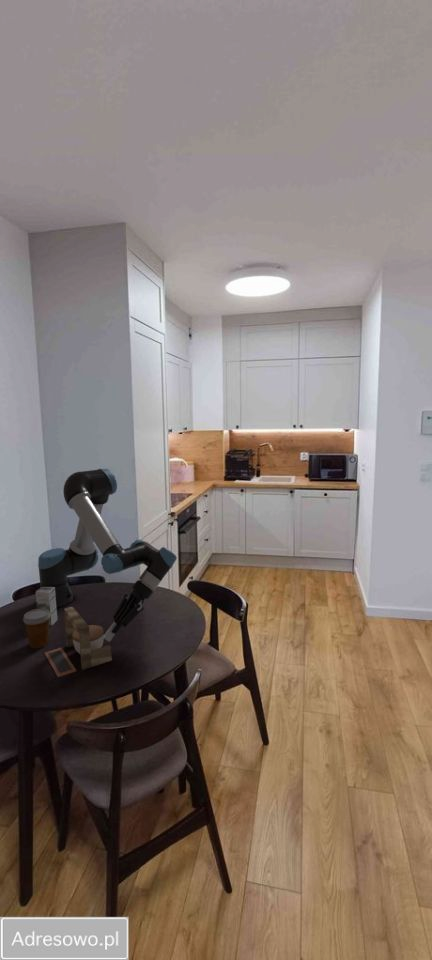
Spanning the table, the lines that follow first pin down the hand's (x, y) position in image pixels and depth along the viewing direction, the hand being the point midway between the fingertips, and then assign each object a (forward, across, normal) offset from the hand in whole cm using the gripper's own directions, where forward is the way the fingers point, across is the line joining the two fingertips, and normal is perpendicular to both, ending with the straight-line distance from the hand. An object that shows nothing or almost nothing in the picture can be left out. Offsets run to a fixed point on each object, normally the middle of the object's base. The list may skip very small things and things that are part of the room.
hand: (106, 639), depth 163 cm
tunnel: (+7, 0, +3) cm, 7 cm away
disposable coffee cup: (+16, +17, +12) cm, 26 cm away
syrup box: (+11, +33, +7) cm, 35 cm away
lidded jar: (+7, 0, +2) cm, 7 cm away
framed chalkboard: (+14, 0, +10) cm, 17 cm away
